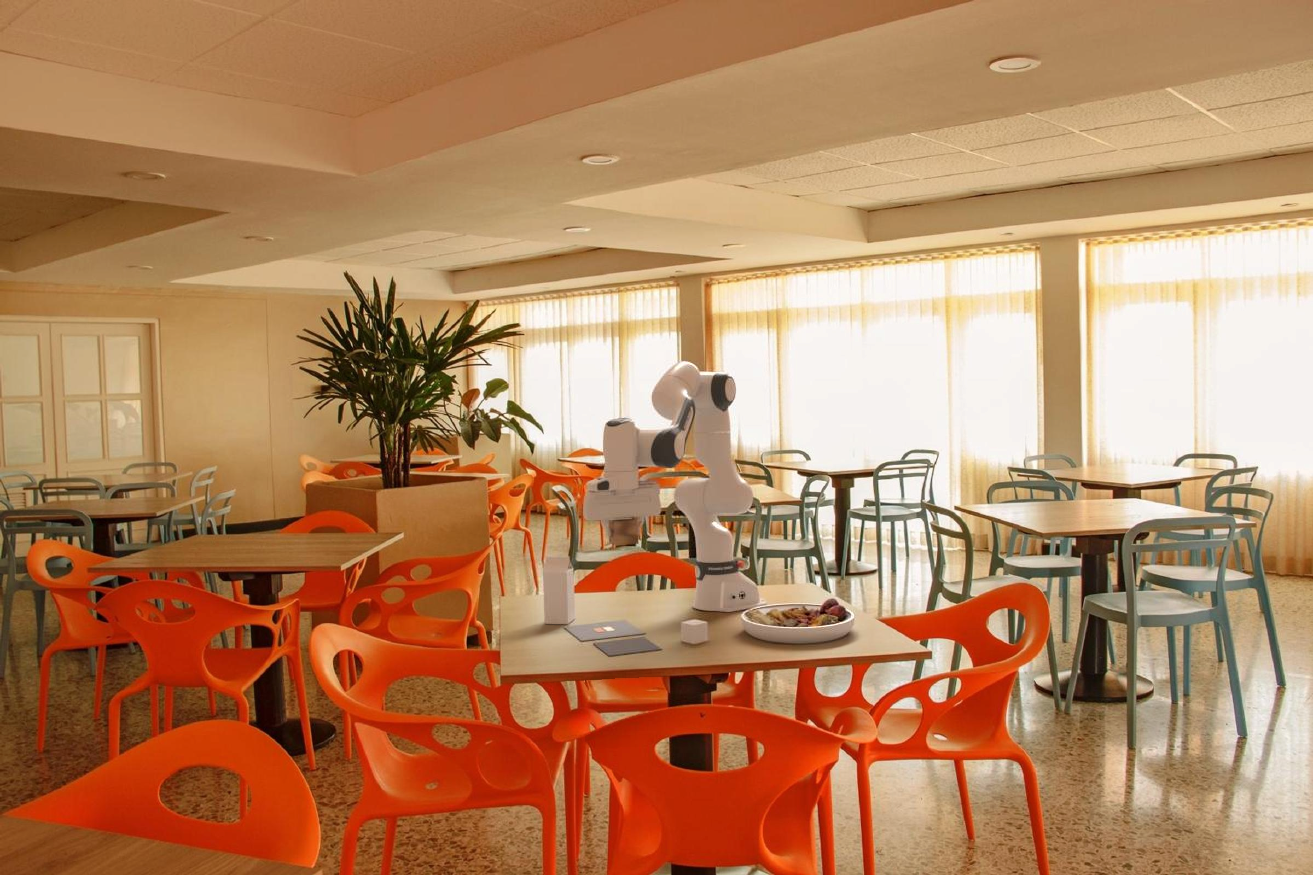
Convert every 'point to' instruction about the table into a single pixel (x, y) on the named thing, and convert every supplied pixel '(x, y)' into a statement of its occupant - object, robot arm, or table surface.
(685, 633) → the beige block
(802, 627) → the bowl
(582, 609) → the table surface
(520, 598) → the table surface
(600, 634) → the tile
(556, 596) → the milk carton
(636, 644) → the mat
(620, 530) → the walnut block
